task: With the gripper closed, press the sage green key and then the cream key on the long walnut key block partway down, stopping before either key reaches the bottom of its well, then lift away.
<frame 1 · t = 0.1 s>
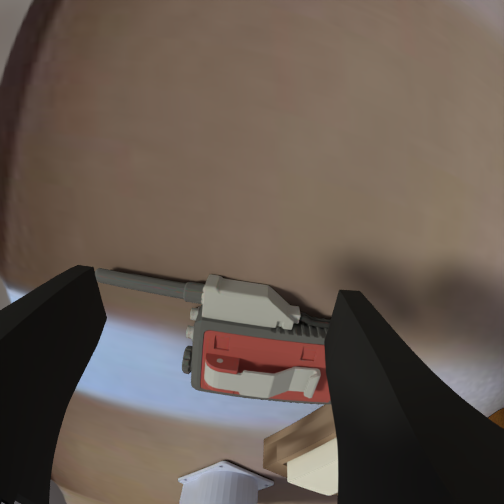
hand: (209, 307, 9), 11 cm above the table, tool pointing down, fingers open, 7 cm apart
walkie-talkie: (234, 328, 22), on the table
cream key: (334, 465, 22), point 4 cm above the table, slide at 0.0 cm
key base: (376, 457, 27), on the table
disposable coffee cup: (492, 422, 26), on the table
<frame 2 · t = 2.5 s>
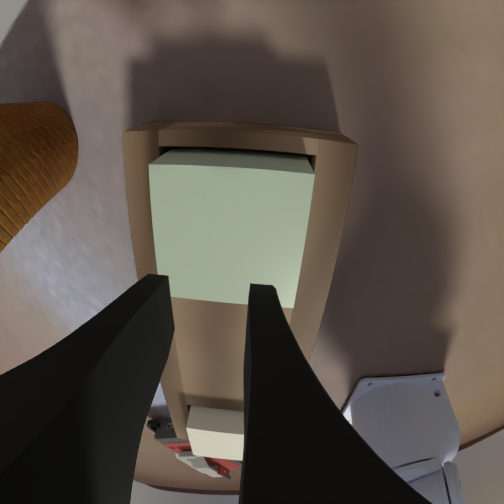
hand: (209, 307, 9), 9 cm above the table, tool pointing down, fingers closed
sage key: (231, 226, 13), point 4 cm above the table, slide at 0.0 cm
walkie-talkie: (212, 445, 34), on the table
cream key: (227, 432, 23), point 4 cm above the table, slide at 0.0 cm
key base: (234, 324, 22), on the table
disposable coffee cup: (44, 147, 16), on the table
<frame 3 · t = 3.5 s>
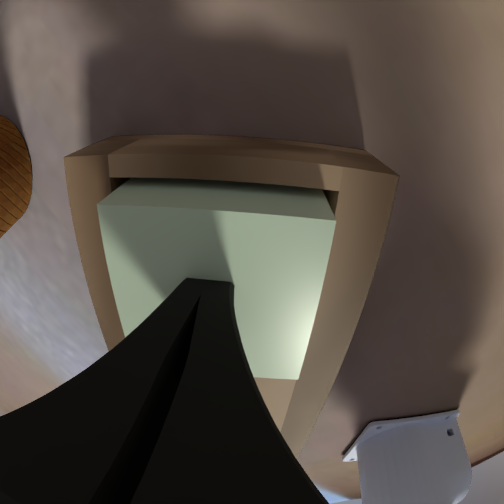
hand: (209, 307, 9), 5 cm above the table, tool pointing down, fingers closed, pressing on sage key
sage key: (217, 279, 10), point 3 cm above the table, slide at 0.6 cm, touching gripper
key base: (227, 374, 18), on the table
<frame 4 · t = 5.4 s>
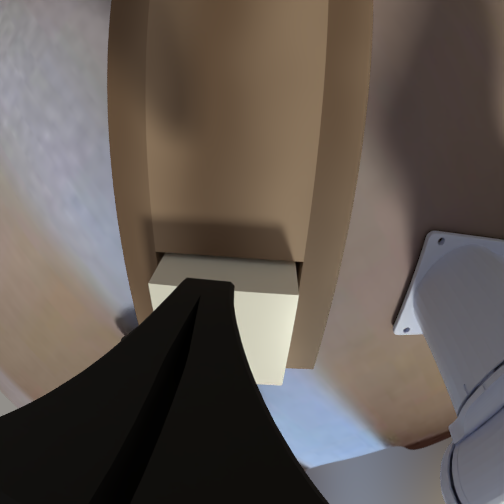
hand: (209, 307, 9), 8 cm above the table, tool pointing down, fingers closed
cream key: (226, 320, 15), point 4 cm above the table, slide at 0.0 cm
key base: (239, 105, 13), on the table
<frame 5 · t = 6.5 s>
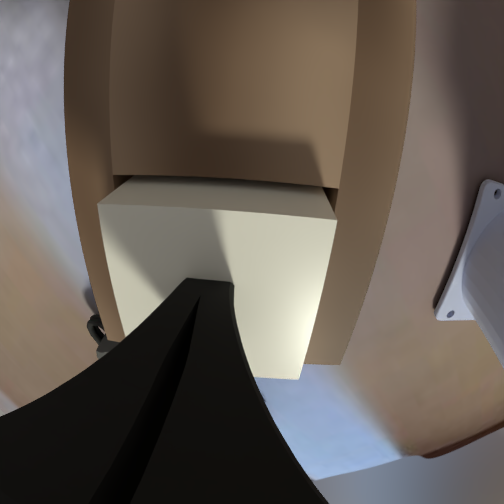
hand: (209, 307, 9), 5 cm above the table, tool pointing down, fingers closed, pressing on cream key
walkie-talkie: (204, 397, 20), on the table
cream key: (218, 278, 10), point 4 cm above the table, slide at 0.4 cm, touching gripper
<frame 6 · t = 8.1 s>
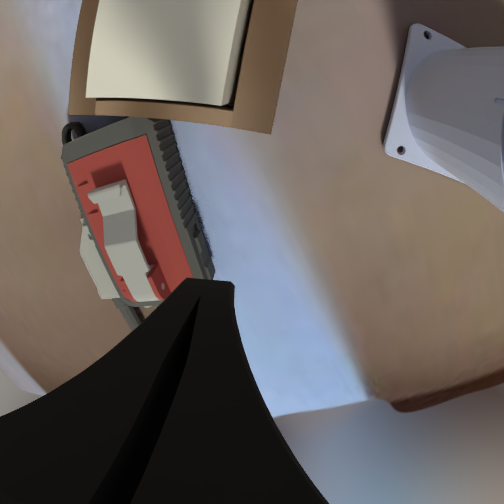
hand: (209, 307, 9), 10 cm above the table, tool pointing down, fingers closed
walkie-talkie: (152, 249, 21), on the table
cream key: (170, 32, 10), point 3 cm above the table, slide at 0.6 cm
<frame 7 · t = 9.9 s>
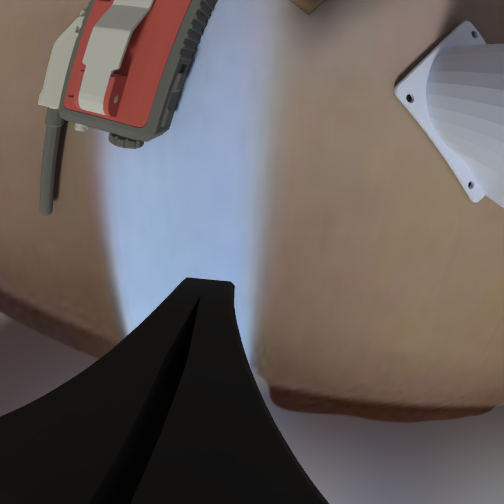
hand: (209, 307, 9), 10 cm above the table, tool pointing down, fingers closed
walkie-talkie: (119, 80, 15), on the table
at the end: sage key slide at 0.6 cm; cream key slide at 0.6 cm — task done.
